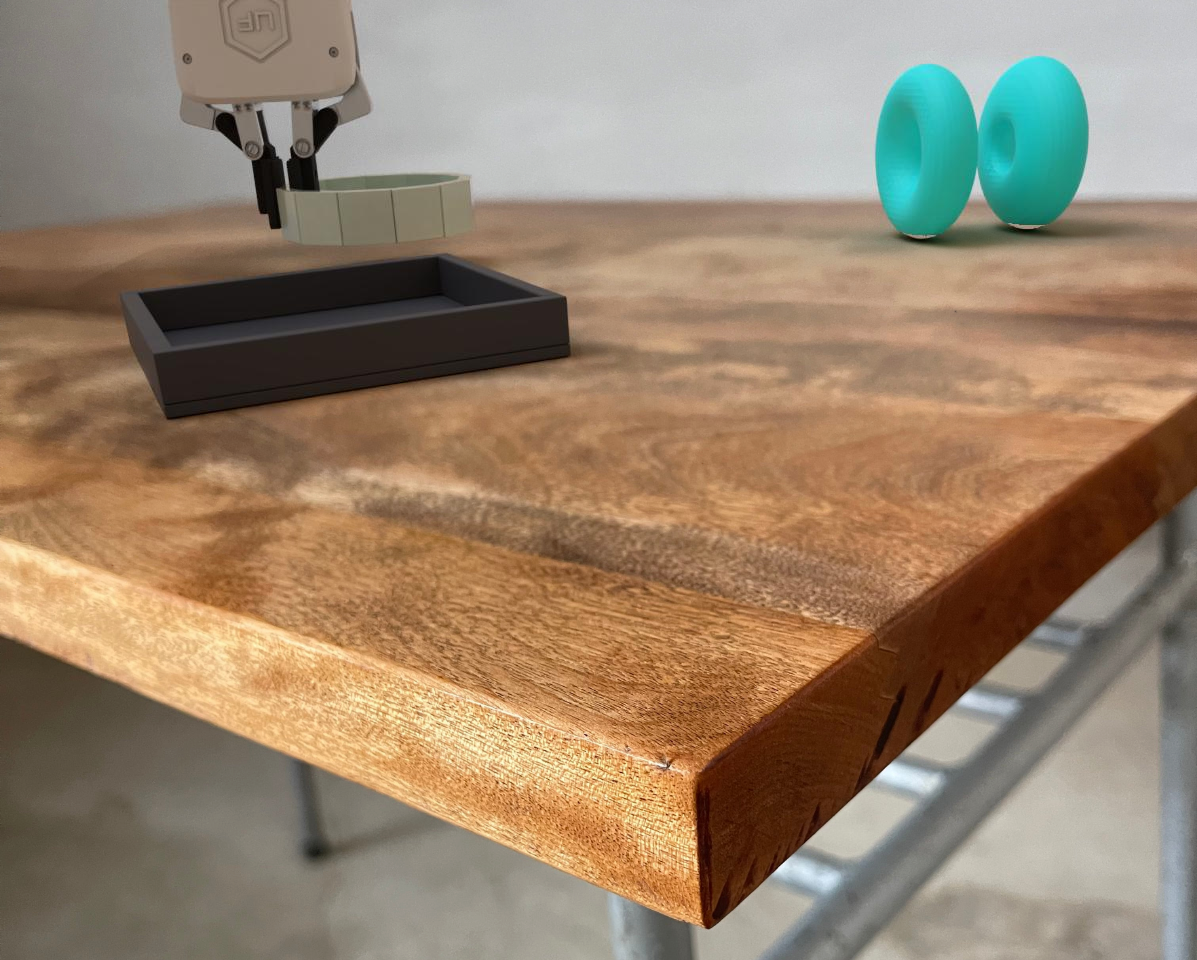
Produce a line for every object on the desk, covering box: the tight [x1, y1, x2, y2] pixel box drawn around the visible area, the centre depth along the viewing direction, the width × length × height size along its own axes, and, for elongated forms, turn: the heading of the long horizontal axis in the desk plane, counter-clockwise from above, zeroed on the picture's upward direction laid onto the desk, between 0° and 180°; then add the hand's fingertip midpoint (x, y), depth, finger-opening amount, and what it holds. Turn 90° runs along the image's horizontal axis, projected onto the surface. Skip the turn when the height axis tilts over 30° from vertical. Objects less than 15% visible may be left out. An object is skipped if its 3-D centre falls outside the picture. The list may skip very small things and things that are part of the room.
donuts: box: [874, 55, 1090, 236], centre depth 75 cm, size 10×10×10 cm
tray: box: [118, 252, 572, 419], centre depth 56 cm, size 17×17×2 cm
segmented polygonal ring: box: [276, 172, 477, 247], centre depth 76 cm, size 12×12×3 cm
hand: (292, 224), depth 76 cm, fingers closed on segmented polygonal ring, 1 cm apart
